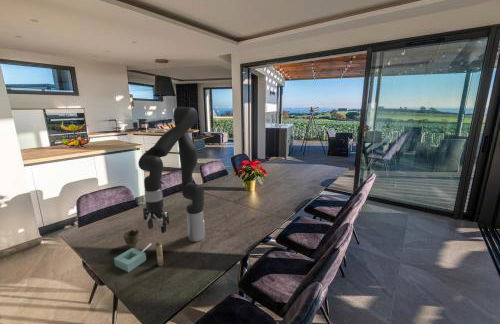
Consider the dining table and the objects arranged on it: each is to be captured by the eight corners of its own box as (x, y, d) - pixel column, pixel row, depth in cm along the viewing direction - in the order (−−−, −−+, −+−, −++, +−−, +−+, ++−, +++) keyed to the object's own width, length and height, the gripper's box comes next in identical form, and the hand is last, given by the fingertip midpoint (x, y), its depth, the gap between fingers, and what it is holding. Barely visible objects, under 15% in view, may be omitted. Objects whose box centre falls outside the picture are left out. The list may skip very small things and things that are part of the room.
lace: (150, 244, 132) (150, 243, 132) (151, 244, 132) (151, 243, 132) (138, 254, 123) (138, 253, 123) (139, 255, 123) (139, 254, 123)
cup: (142, 243, 133) (141, 230, 131) (133, 250, 126) (132, 237, 124) (131, 241, 135) (129, 228, 133) (122, 248, 128) (120, 235, 126)
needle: (160, 261, 117) (158, 239, 114) (164, 263, 116) (162, 241, 113) (156, 264, 115) (154, 242, 112) (160, 266, 114) (158, 244, 111)
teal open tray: (133, 254, 123) (132, 247, 122) (146, 260, 119) (145, 253, 118) (114, 265, 114) (113, 258, 114) (128, 272, 110) (127, 264, 109)
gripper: (171, 198, 108) (174, 230, 111) (149, 193, 114) (153, 223, 118) (158, 204, 101) (161, 237, 105) (136, 198, 107) (140, 230, 111)
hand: (157, 230), depth 111 cm, fingers open, 8 cm apart
